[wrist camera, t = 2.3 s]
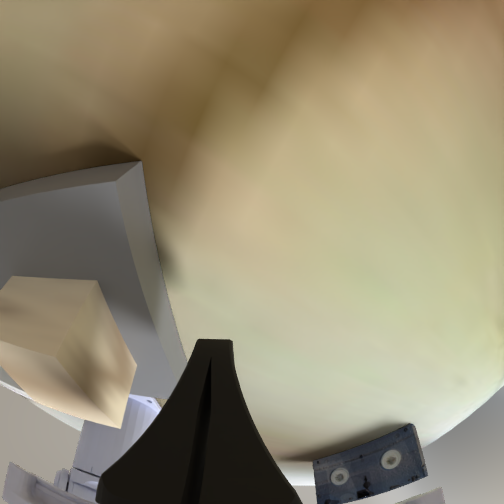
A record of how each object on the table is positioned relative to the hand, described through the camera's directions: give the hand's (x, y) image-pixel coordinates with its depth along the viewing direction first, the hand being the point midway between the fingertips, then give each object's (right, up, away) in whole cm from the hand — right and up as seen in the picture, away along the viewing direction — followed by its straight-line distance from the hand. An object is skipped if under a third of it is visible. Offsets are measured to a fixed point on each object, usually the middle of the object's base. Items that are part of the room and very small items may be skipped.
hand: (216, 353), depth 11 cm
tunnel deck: (-21, +2, +3) cm, 21 cm away
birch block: (-8, +1, +1) cm, 8 cm away
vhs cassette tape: (+19, -27, +22) cm, 40 cm away
